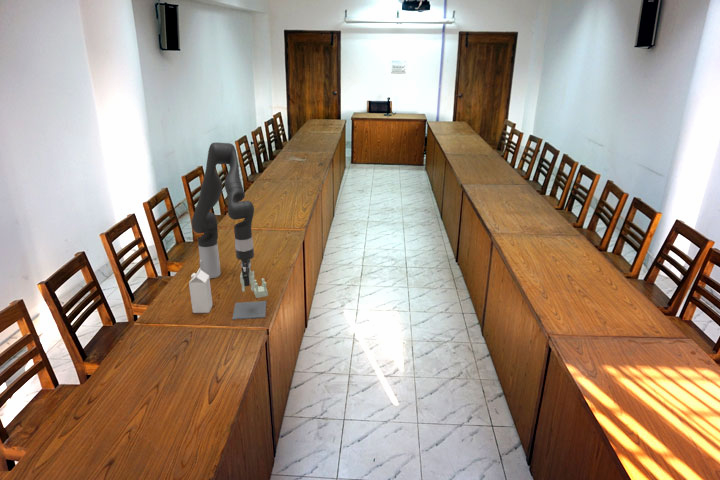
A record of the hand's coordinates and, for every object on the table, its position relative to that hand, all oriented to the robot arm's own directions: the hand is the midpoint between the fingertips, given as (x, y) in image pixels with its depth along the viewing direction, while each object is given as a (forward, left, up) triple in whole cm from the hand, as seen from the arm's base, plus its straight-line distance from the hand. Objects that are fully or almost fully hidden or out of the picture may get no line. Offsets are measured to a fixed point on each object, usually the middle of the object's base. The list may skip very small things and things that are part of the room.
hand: (247, 282), depth 221 cm
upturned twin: (+4, +15, -14) cm, 21 cm away
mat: (0, 0, -14) cm, 14 cm away
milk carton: (-21, +4, -14) cm, 26 cm away
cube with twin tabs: (0, 0, -3) cm, 3 cm away
